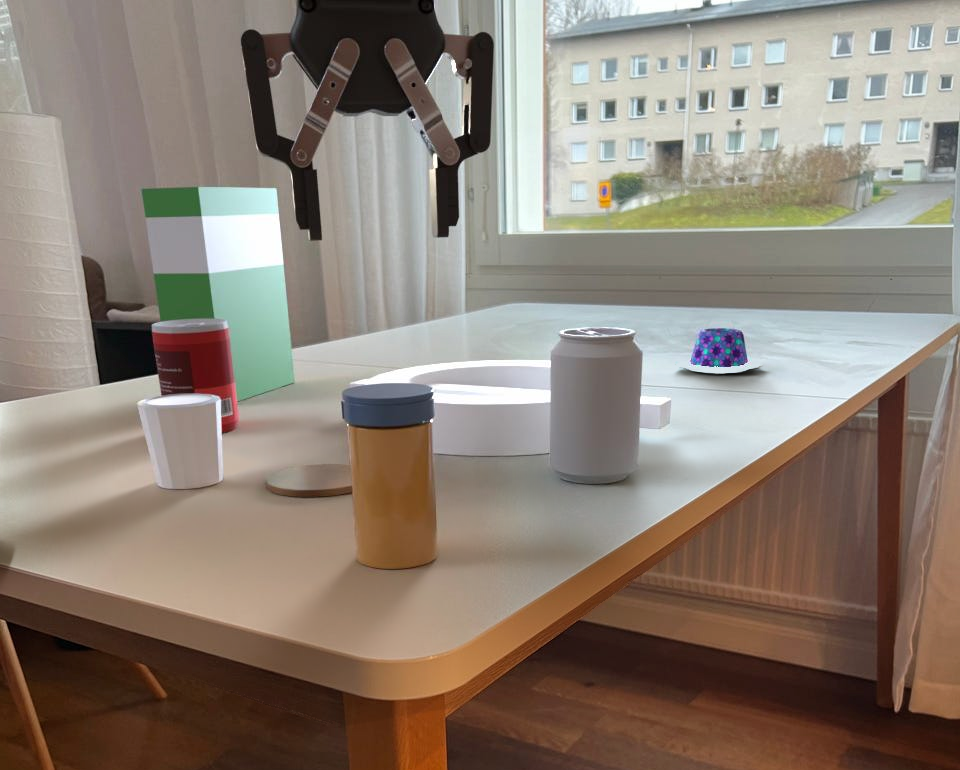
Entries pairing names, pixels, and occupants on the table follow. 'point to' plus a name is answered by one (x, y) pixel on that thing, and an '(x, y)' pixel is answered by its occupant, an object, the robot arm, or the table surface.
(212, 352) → the canned food
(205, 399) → the white faceted cup
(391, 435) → the jar
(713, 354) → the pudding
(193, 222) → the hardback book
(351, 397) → the lid
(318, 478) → the coaster
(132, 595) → the table surface
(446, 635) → the table surface
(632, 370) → the can
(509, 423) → the white circle with bar
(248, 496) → the table surface
